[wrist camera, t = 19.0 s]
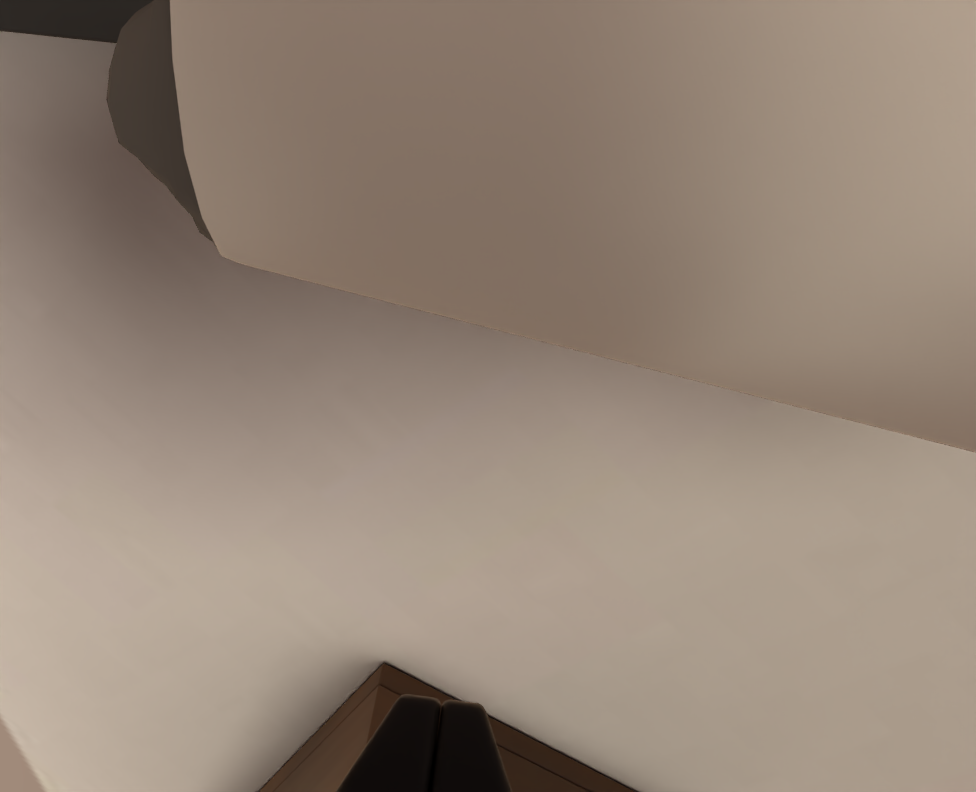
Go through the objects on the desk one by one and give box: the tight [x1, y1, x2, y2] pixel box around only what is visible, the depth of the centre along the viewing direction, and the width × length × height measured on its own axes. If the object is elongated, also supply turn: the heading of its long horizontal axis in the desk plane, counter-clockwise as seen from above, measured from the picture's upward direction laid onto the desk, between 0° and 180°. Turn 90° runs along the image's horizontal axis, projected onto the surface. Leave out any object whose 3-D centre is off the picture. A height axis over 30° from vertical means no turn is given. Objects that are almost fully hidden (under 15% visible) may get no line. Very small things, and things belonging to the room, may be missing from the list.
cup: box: [107, 0, 976, 452], centre depth 12 cm, size 10×10×13 cm
